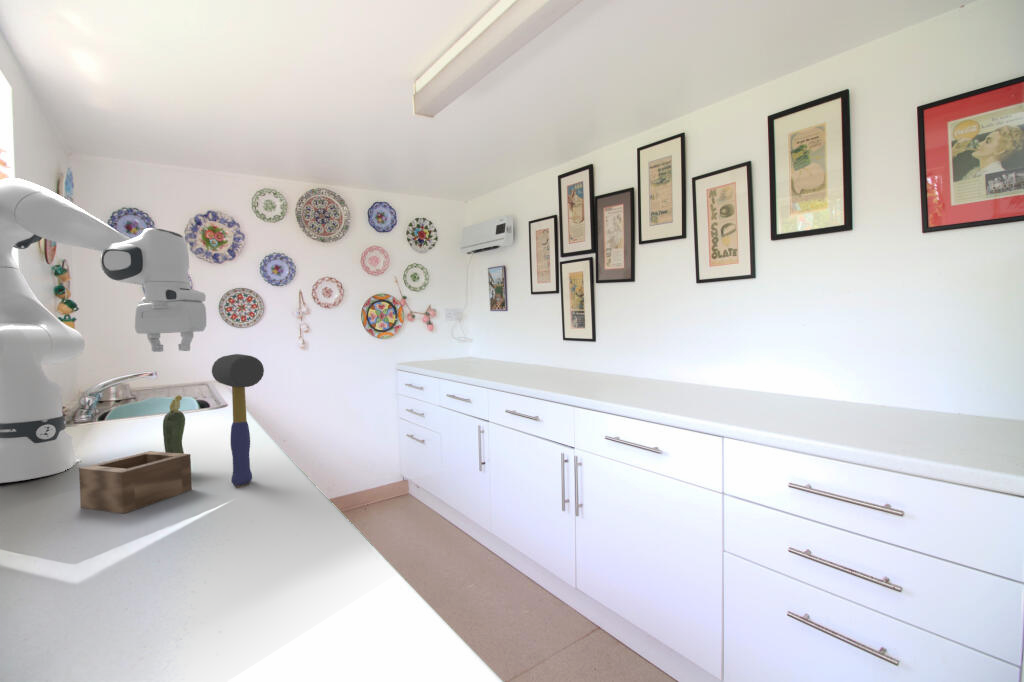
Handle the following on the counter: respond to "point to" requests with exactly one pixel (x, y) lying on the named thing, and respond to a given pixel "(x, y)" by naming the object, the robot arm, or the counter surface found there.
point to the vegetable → (174, 427)
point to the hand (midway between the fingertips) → (170, 351)
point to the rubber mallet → (239, 407)
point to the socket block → (134, 481)
